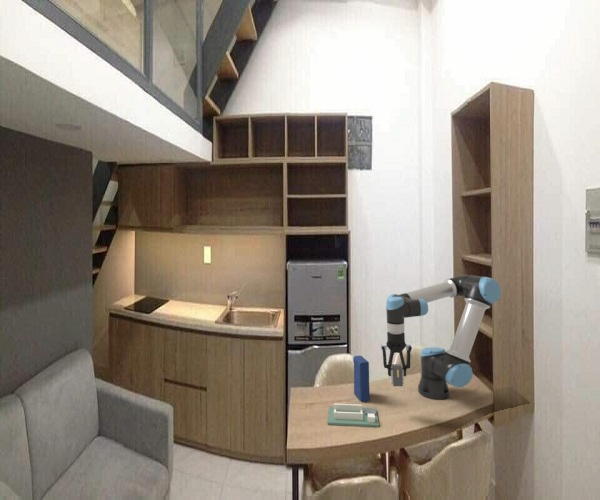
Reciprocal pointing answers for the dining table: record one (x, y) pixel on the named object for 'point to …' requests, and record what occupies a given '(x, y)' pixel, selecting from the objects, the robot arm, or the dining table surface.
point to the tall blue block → (361, 378)
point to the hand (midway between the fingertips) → (397, 382)
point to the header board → (352, 415)
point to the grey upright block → (397, 375)
